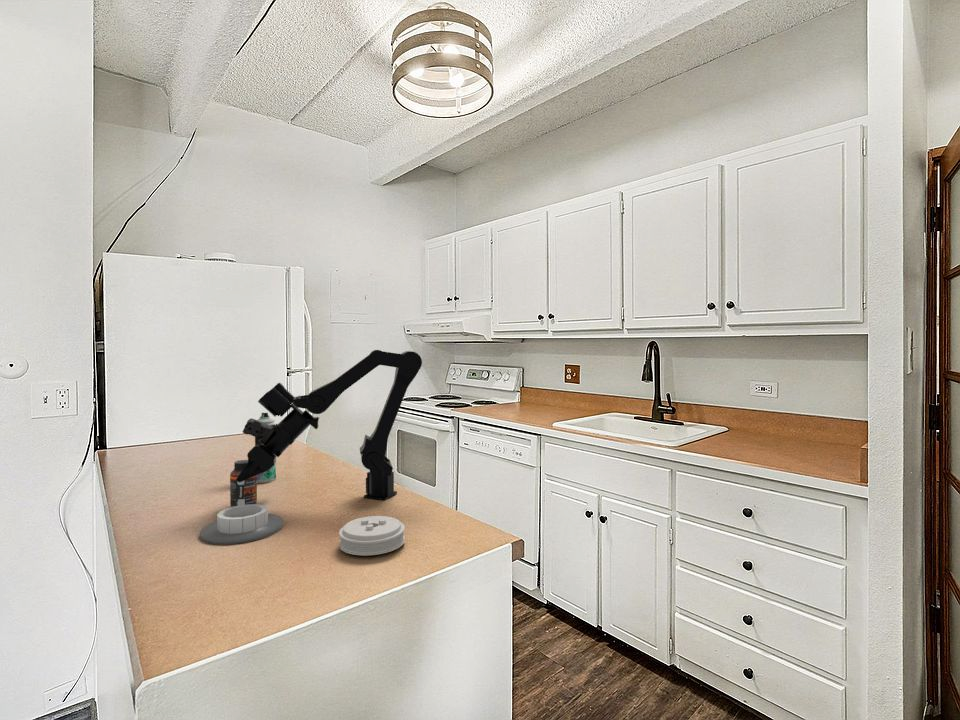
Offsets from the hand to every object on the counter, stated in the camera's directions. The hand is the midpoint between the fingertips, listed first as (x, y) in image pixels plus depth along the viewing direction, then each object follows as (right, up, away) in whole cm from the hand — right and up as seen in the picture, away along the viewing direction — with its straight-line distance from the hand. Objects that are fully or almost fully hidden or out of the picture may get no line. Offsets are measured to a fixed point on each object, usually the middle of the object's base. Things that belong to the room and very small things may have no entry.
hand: (241, 476), depth 124 cm
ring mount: (+7, -8, -15) cm, 19 cm away
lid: (+37, -9, -24) cm, 45 cm away
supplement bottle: (0, -8, 0) cm, 8 cm away
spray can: (-4, -7, +25) cm, 26 cm away
